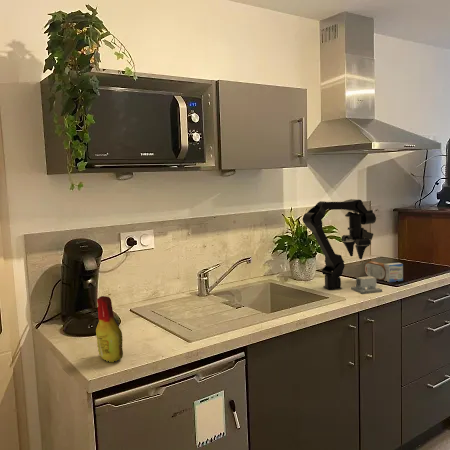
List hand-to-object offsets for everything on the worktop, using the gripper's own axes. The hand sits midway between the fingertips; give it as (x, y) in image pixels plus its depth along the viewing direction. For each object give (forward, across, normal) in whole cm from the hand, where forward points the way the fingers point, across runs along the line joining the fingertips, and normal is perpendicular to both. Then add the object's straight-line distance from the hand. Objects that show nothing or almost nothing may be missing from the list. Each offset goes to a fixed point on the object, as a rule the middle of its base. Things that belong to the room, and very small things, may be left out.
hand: (356, 257), depth 225 cm
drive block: (+12, -13, +2) cm, 18 cm away
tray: (+13, -13, +2) cm, 18 cm away
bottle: (+13, -59, +115) cm, 130 cm away
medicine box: (+13, -1, -19) cm, 23 cm away
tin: (+13, +6, -14) cm, 20 cm away
